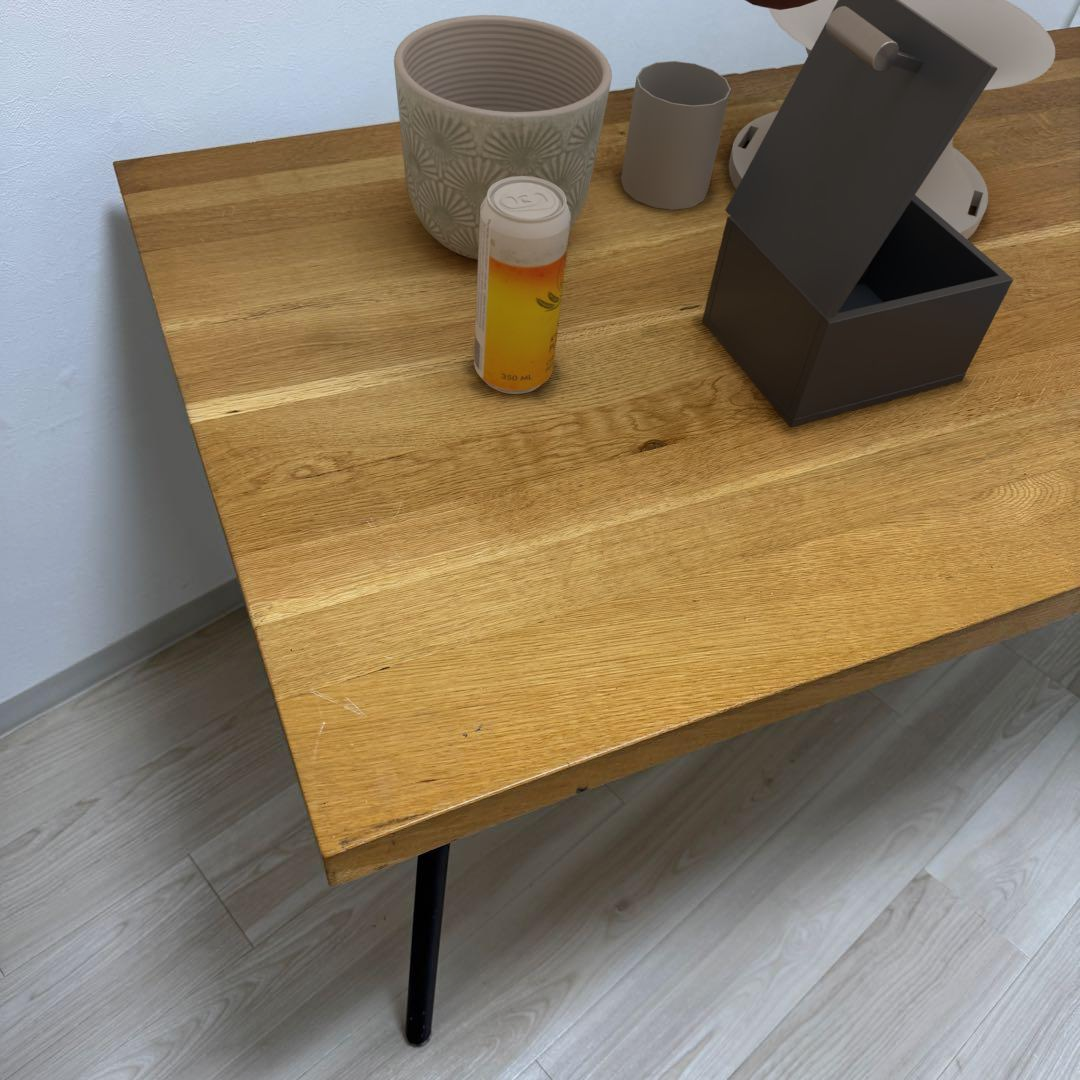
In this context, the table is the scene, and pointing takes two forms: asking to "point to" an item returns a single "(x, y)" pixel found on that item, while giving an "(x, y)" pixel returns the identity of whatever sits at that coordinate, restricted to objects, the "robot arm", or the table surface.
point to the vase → (1020, 56)
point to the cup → (674, 134)
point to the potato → (780, 3)
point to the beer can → (520, 282)
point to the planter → (495, 116)
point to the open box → (857, 319)
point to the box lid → (855, 143)
